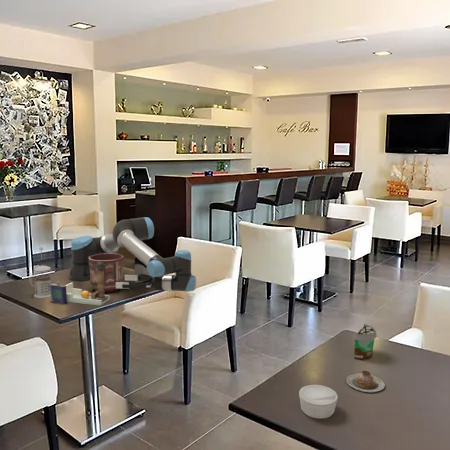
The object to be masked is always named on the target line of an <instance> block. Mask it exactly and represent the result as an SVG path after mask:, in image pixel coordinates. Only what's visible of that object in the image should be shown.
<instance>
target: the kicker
mask: <svg viewBox="0 0 450 450" xmlns="http://www.w3.org/2000/svg"><path fill="white" fill-rule="evenodd" d="M96 268H97V277H98V291H94V292H92V293H91V299H95V300H102V301H104V300H106V299H107V298H108V296H107V295H108V294H106V293H104V269H103V268H104V263H103V262H98V263H97V264H96Z"/></svg>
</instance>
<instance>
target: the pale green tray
mask: <svg viewBox="0 0 450 450" xmlns="http://www.w3.org/2000/svg"><path fill="white" fill-rule="evenodd" d="M65 286H66V295H67V303H75V304H83V305H94V306H102V305H104V304H105V303H106V302H108V301H110V300H111V296H110V294H109V295H108V294H106V295H107V296H108V298H107V299H106V300H104V301H102V300H95V299H91V294H92V293H91V292H89V297H88V298H86V299H85V298H82V297H81V293H82V291H83V289H82V288H74V282H73V281H72V282H70V283H67V284H65Z"/></svg>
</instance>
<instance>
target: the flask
mask: <svg viewBox="0 0 450 450" xmlns="http://www.w3.org/2000/svg"><path fill="white" fill-rule="evenodd" d="M65 285H66V284H65ZM65 285H64V284H63V283H61V281H60V280H58V281H56V283H51V285H50V287H51V296H50V302H51V303H53V304H54V303H55V304H60V305H67V304H68V302H67V295H66V286H65Z"/></svg>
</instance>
